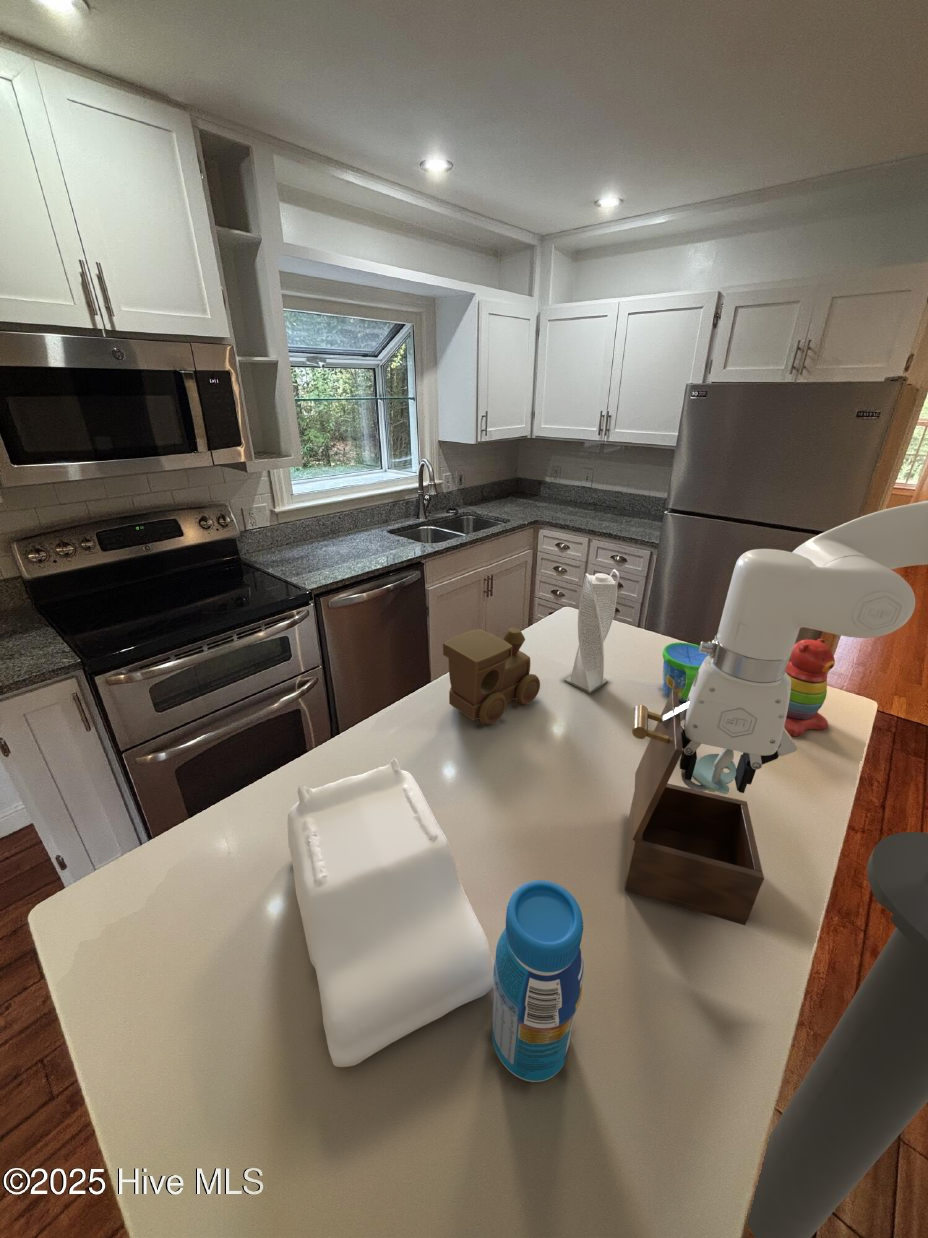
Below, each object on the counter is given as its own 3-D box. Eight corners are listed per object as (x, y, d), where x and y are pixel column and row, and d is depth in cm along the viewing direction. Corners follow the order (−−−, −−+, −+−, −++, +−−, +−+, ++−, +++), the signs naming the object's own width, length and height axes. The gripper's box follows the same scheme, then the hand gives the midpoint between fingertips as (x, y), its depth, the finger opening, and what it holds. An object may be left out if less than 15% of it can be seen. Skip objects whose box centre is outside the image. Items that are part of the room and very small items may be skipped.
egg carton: (410, 806, 80) (407, 740, 74) (504, 991, 56) (509, 915, 50) (287, 849, 73) (273, 779, 67) (333, 1086, 48) (317, 1008, 43)
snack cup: (707, 719, 102) (718, 677, 98) (653, 707, 106) (661, 666, 101) (705, 681, 115) (715, 642, 111) (657, 671, 119) (664, 633, 114)
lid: (678, 691, 67) (639, 679, 68) (683, 751, 56) (637, 736, 57) (640, 775, 74) (606, 763, 75) (638, 842, 63) (598, 827, 64)
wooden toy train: (477, 737, 96) (479, 663, 89) (439, 710, 104) (439, 640, 97) (544, 698, 108) (551, 630, 101) (506, 676, 116) (510, 612, 109)
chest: (731, 845, 74) (747, 801, 70) (745, 926, 63) (764, 878, 59) (628, 819, 78) (637, 776, 74) (624, 890, 67) (634, 843, 64)
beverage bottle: (473, 1038, 52) (477, 914, 43) (521, 974, 58) (533, 854, 49) (540, 1110, 47) (559, 987, 38) (586, 1033, 52) (612, 910, 44)
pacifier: (673, 786, 64) (723, 808, 61) (681, 748, 62) (734, 768, 58) (689, 756, 69) (736, 775, 66) (698, 720, 67) (748, 737, 63)
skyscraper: (612, 684, 113) (632, 568, 101) (592, 698, 108) (610, 577, 96) (581, 670, 119) (596, 558, 107) (561, 682, 114) (574, 566, 102)
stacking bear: (791, 738, 97) (820, 659, 89) (749, 709, 105) (772, 634, 98) (832, 728, 100) (863, 650, 92) (788, 700, 108) (813, 627, 101)
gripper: (669, 660, 56) (642, 782, 64) (847, 690, 51) (794, 818, 59) (667, 632, 62) (643, 746, 70) (825, 656, 57) (780, 775, 65)
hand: (712, 778), depth 64 cm, fingers closed on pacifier, 5 cm apart
